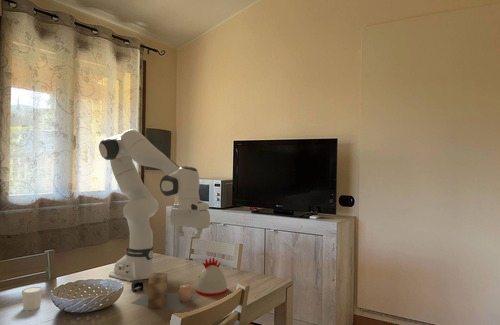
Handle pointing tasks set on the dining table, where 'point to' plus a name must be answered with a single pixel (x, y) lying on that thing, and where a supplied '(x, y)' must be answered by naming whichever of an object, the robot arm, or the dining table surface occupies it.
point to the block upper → (157, 282)
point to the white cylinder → (32, 298)
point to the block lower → (157, 299)
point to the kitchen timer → (211, 280)
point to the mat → (171, 301)
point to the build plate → (137, 284)
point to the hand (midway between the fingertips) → (189, 237)
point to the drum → (185, 293)
